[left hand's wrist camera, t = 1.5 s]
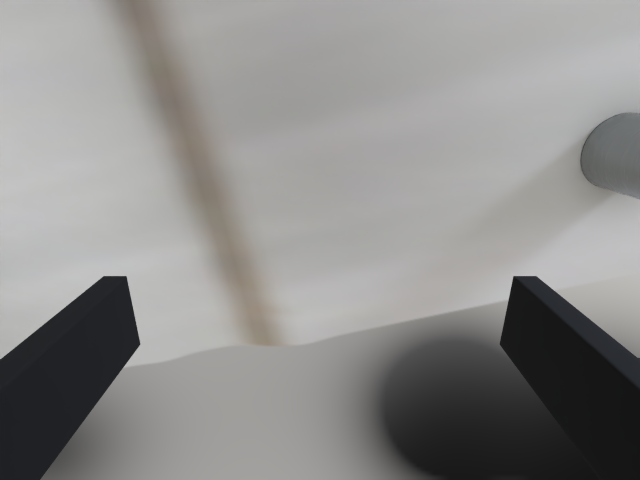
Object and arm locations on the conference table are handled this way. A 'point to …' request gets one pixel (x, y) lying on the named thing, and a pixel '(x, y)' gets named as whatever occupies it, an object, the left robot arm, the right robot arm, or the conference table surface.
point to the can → (614, 155)
